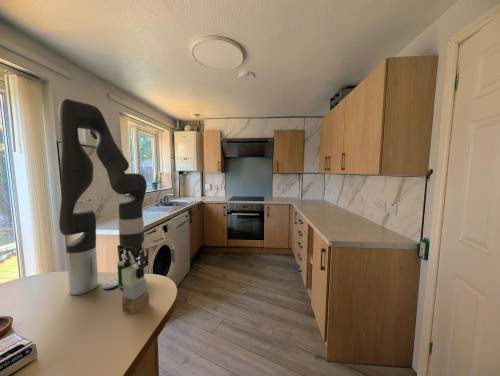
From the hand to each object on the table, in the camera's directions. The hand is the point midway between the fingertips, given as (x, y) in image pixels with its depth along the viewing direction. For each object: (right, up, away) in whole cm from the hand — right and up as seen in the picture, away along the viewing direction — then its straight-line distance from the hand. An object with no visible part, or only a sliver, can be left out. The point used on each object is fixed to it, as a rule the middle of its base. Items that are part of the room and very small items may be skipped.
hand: (133, 275), depth 70 cm
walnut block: (0, -12, +1) cm, 12 cm away
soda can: (-11, -11, +15) cm, 22 cm away
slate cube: (0, -7, +1) cm, 7 cm away
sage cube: (0, -2, 0) cm, 2 cm away
